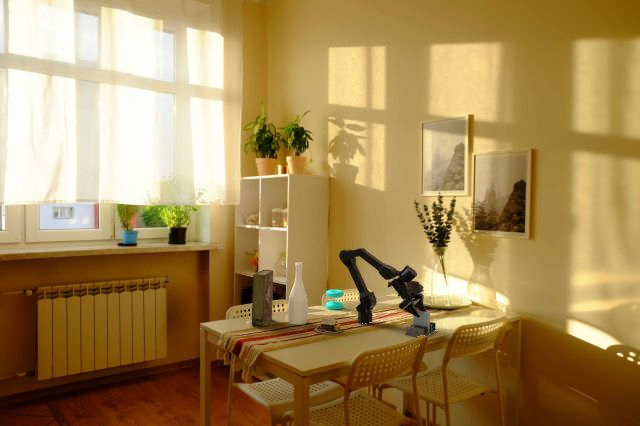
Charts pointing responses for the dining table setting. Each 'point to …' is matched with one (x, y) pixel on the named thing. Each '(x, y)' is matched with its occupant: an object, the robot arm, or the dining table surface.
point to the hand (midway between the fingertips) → (422, 315)
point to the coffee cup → (412, 284)
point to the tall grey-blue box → (422, 319)
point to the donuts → (334, 304)
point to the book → (262, 297)
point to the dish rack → (420, 330)
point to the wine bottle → (298, 299)
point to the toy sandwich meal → (328, 326)
